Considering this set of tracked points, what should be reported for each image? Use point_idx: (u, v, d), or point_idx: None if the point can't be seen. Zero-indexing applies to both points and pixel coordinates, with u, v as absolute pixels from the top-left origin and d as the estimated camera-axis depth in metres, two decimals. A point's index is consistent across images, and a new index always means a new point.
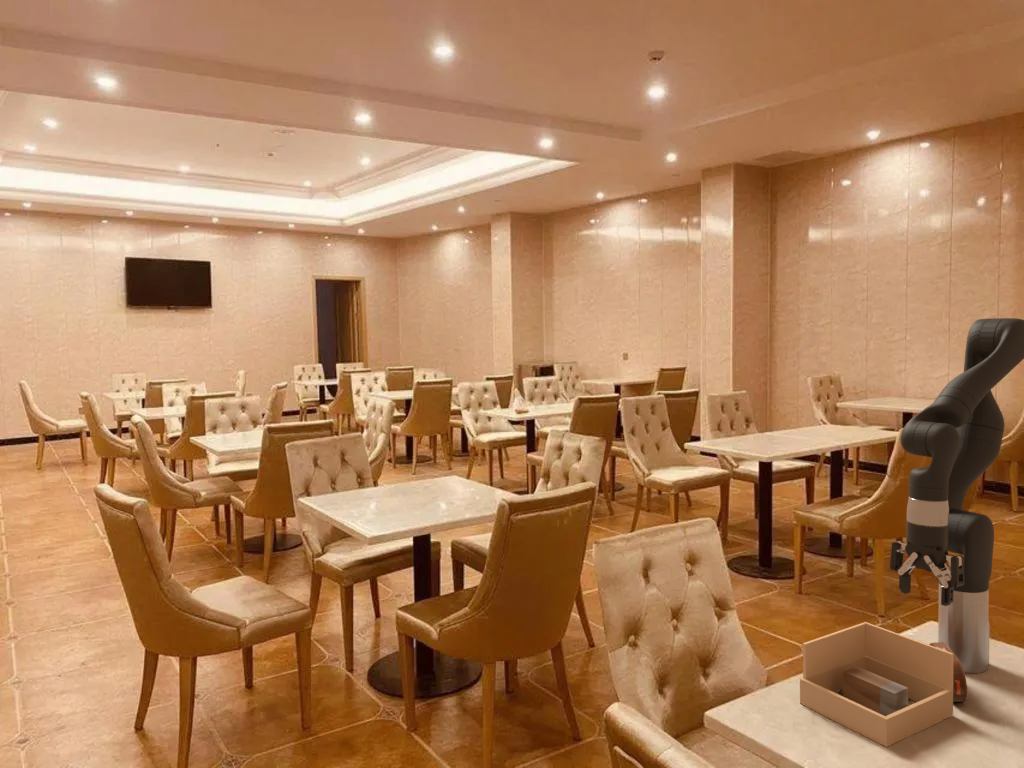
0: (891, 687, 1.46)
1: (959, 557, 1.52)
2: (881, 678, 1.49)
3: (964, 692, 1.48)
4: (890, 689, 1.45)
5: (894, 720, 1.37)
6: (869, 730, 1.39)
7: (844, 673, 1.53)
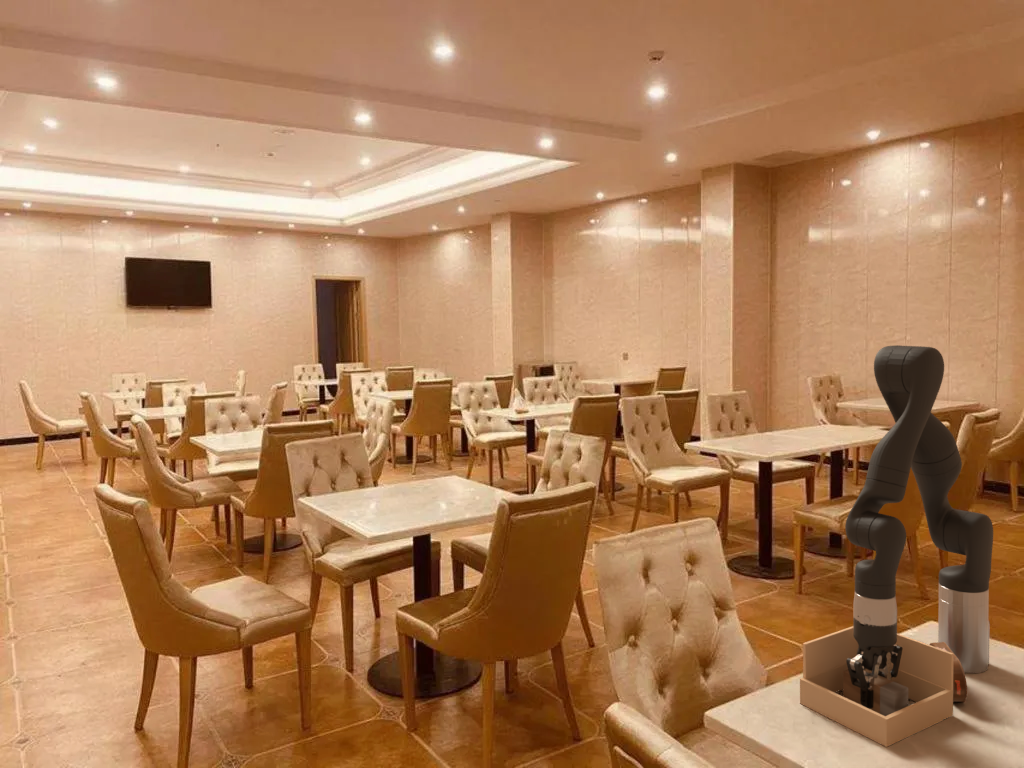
0: (891, 687, 1.46)
1: None
2: (881, 678, 1.49)
3: (964, 692, 1.48)
4: (890, 689, 1.45)
5: (894, 720, 1.37)
6: (869, 730, 1.39)
7: (844, 673, 1.53)
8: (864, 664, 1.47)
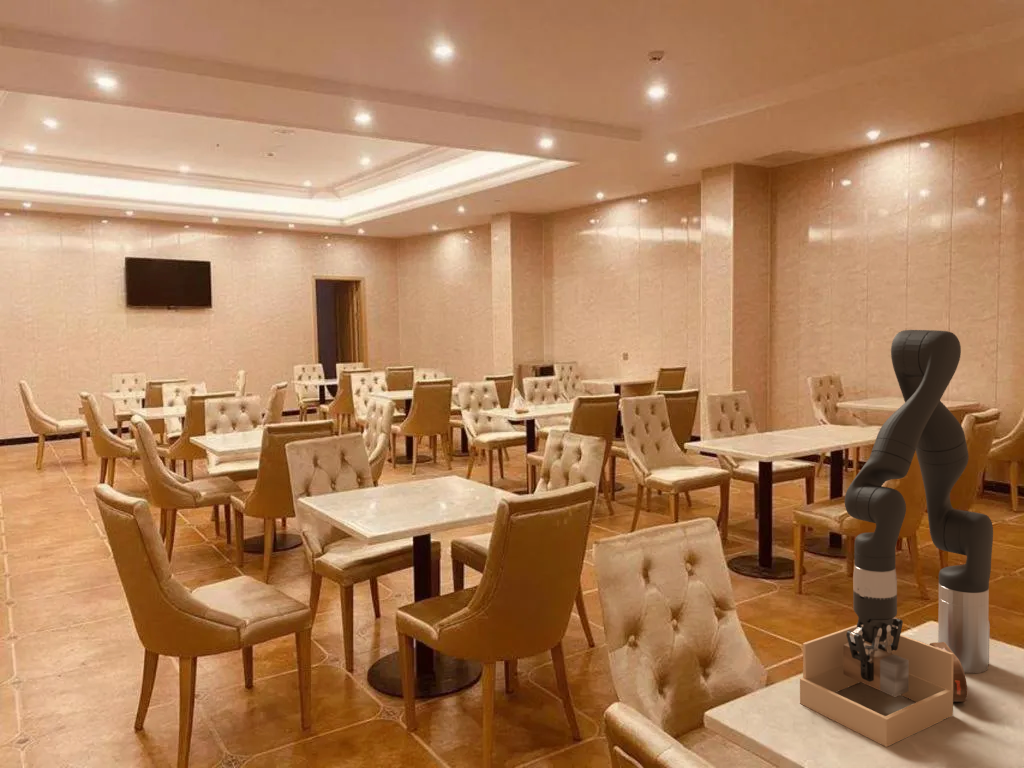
0: (892, 659, 1.45)
1: None
2: (881, 651, 1.49)
3: (964, 692, 1.48)
4: (890, 662, 1.44)
5: (894, 720, 1.37)
6: (869, 730, 1.39)
7: (844, 647, 1.52)
8: (864, 637, 1.47)
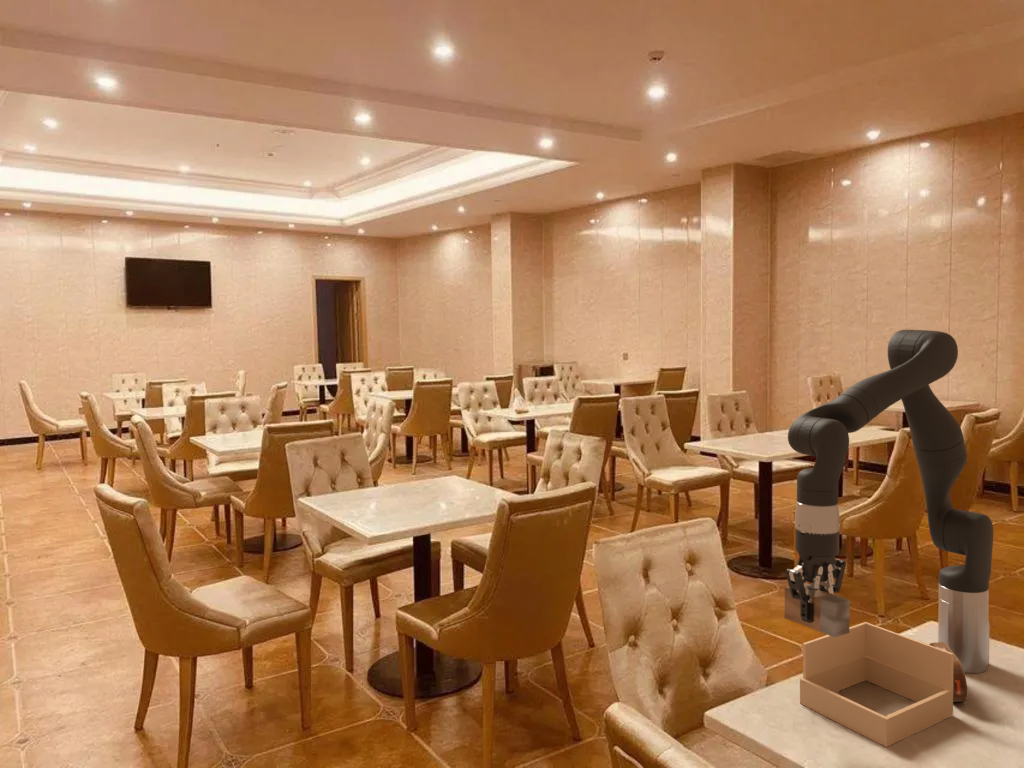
0: (832, 599, 1.39)
1: None
2: (823, 592, 1.43)
3: (964, 692, 1.48)
4: (830, 601, 1.38)
5: (894, 720, 1.37)
6: (869, 730, 1.39)
7: (786, 588, 1.46)
8: (805, 576, 1.41)
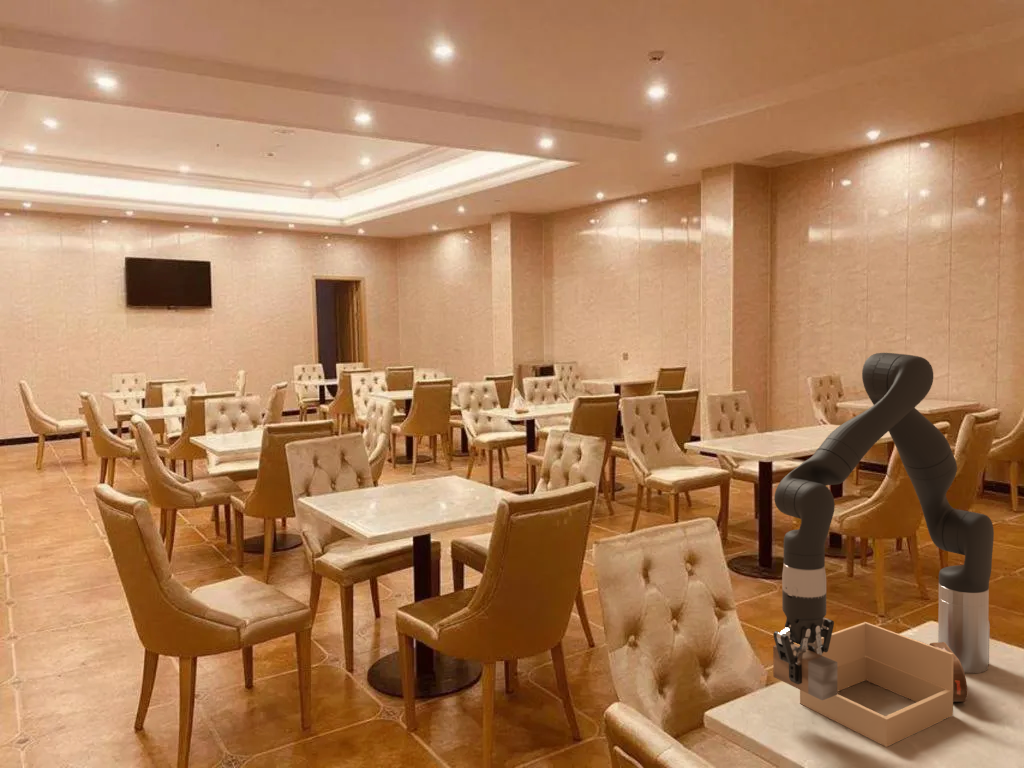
0: (820, 661, 1.40)
1: None
2: (811, 653, 1.43)
3: (964, 692, 1.48)
4: (818, 664, 1.39)
5: (894, 720, 1.37)
6: (869, 730, 1.39)
7: (774, 648, 1.47)
8: (792, 638, 1.42)
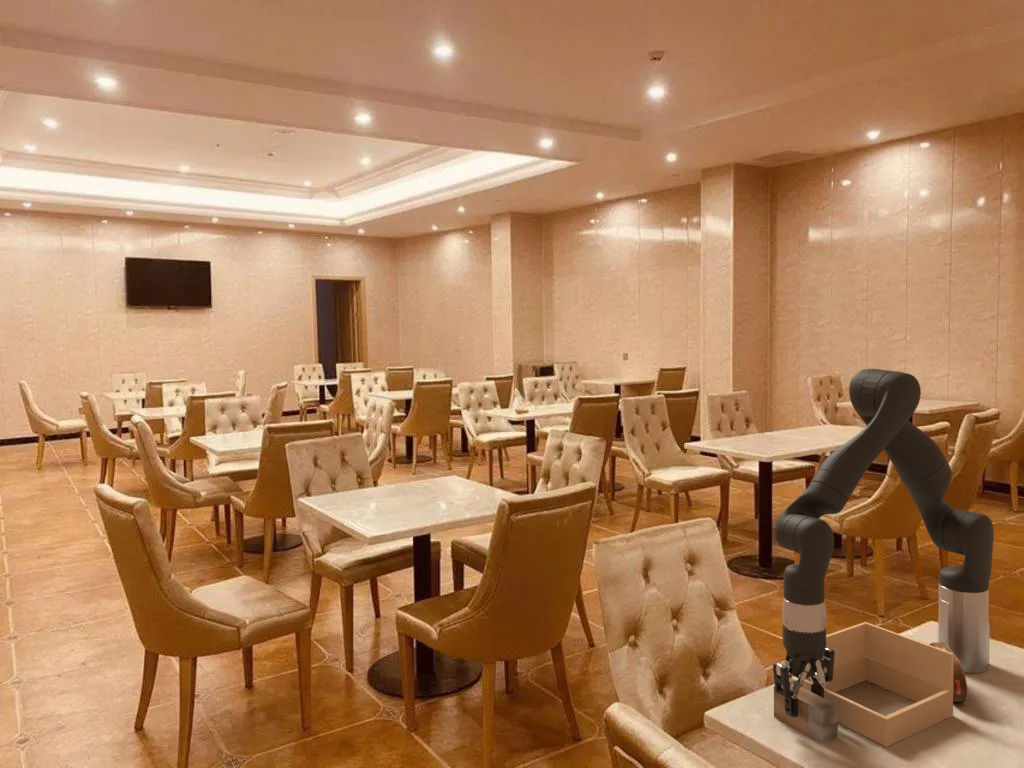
0: (820, 704, 1.40)
1: None
2: (811, 694, 1.44)
3: (964, 692, 1.48)
4: (818, 706, 1.40)
5: (894, 720, 1.37)
6: (869, 730, 1.39)
7: None
8: (792, 672, 1.42)
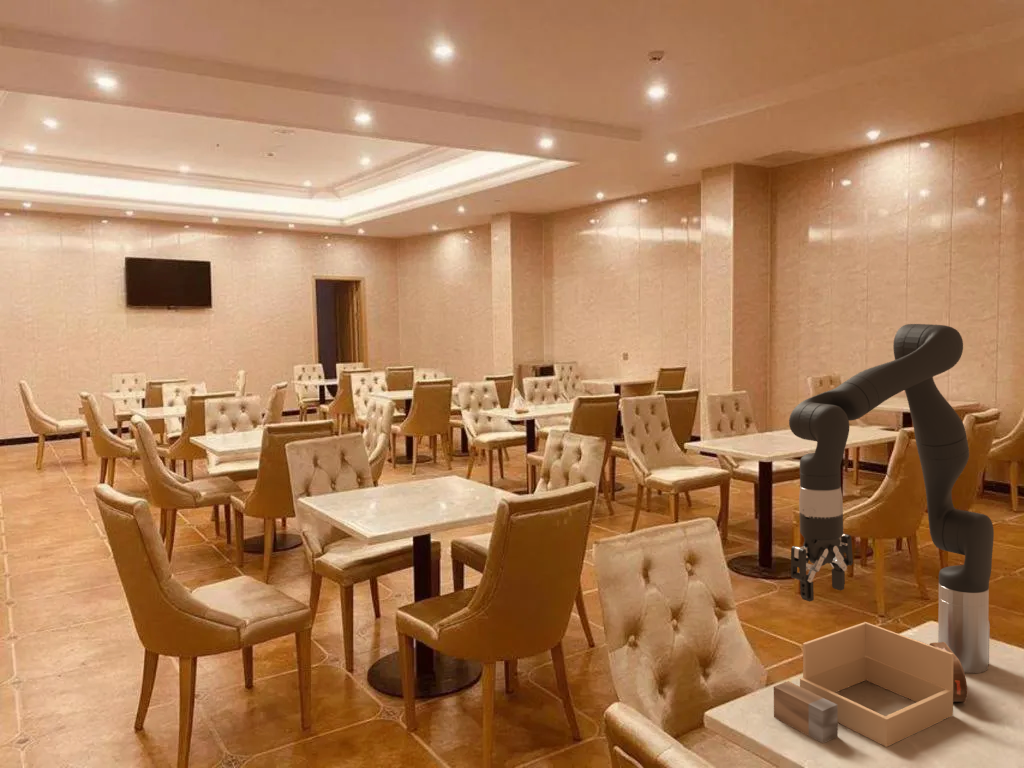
0: (820, 704, 1.40)
1: None
2: (811, 694, 1.44)
3: (964, 692, 1.48)
4: (818, 706, 1.40)
5: (894, 720, 1.37)
6: (869, 730, 1.39)
7: (775, 688, 1.47)
8: (810, 559, 1.44)
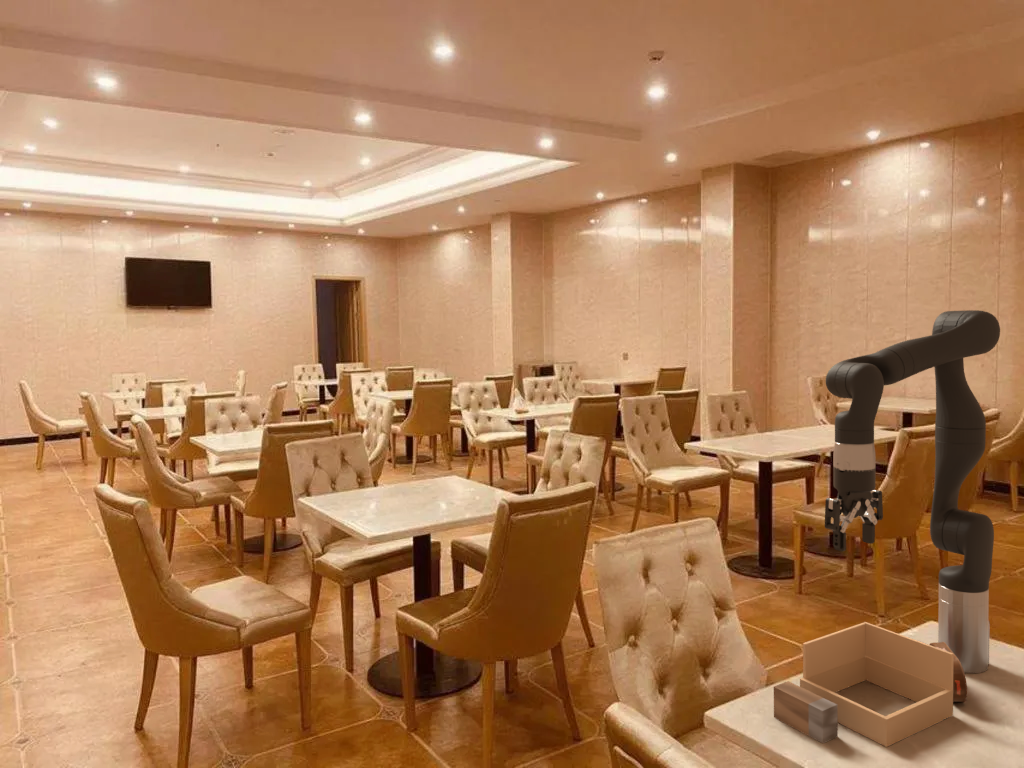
0: (820, 704, 1.40)
1: None
2: (811, 694, 1.44)
3: (964, 692, 1.48)
4: (818, 706, 1.40)
5: (894, 720, 1.37)
6: (869, 730, 1.39)
7: (775, 689, 1.47)
8: (843, 511, 1.51)
